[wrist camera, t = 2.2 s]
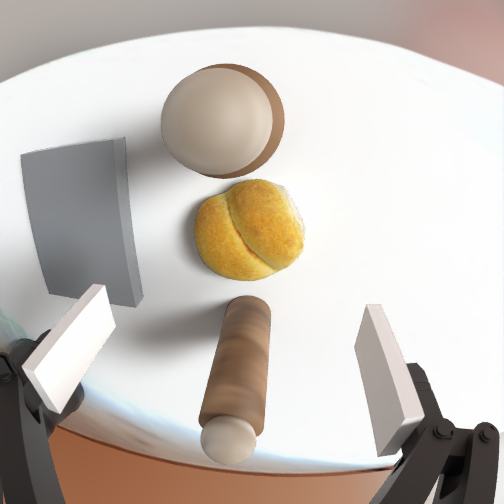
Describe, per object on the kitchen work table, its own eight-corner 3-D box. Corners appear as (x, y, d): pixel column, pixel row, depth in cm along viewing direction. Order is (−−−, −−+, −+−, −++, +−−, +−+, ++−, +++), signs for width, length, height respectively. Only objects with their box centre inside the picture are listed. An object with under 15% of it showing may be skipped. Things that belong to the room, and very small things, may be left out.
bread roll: (182, 211, 26) (167, 227, 22) (275, 163, 23) (274, 171, 20) (229, 286, 29) (222, 310, 25) (317, 248, 26) (323, 269, 23)
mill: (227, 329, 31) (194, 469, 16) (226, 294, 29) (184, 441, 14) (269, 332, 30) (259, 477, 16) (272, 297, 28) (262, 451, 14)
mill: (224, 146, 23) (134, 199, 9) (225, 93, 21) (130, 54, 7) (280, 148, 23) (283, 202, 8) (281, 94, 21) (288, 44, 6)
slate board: (58, 285, 31) (49, 293, 29) (32, 151, 24) (20, 154, 22) (143, 296, 30) (135, 307, 28) (124, 137, 23) (113, 139, 21)
